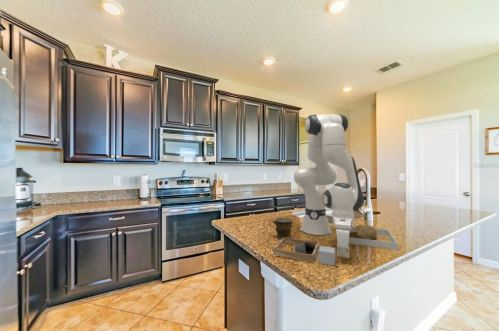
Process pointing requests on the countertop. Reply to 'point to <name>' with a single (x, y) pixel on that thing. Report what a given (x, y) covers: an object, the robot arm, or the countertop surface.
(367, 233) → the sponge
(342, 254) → the maple block
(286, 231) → the ceramic cup
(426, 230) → the countertop surface
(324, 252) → the slate block
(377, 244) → the grey square frame
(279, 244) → the oak cake frame
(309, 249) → the chocolate cake
